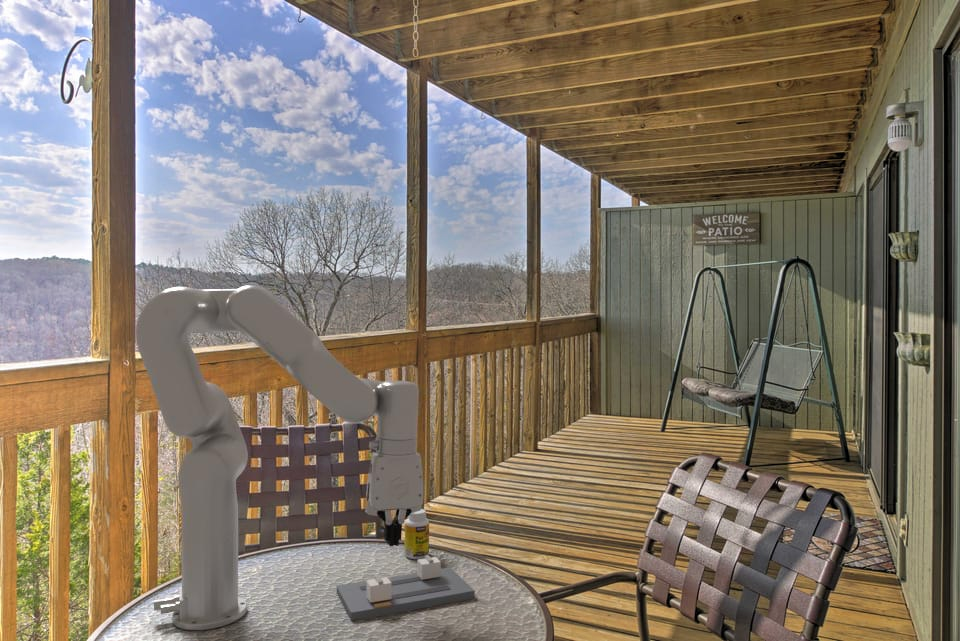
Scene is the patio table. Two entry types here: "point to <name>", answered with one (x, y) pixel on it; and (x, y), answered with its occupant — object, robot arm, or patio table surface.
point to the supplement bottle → (417, 535)
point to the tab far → (428, 567)
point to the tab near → (378, 589)
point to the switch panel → (405, 594)
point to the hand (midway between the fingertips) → (392, 543)
